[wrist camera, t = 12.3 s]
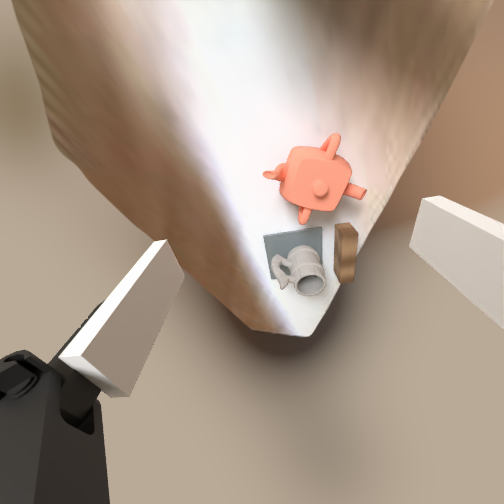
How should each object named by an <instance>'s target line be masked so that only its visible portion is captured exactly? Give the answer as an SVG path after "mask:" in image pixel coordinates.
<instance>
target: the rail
mask: <svg viewBox="0 0 504 504" xmlns="http://www.w3.org/2000/svg"><path fill="white" fill-rule="evenodd" d="M358 234H359V233H358V232H357V231H356V230H355V229H354V227H353V226H352V225H351V224H350V223H342V224H336V225H335V242H334V272H335V274H336V276H337V278H338V280H339V282H340V283H348V282H353V280H354V271H355V262H356V252H357V243H358Z"/></svg>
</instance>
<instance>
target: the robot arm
mask: <svg viewBox="0 0 504 504" xmlns="http://www.w3.org/2000/svg"><path fill="white" fill-rule="evenodd" d="M409 247H410V248H411V249H412V250H413V251H415V252H416V253H417V254H418V255H419V256H420V257H421V258H422V259H424V260H425V261H426V262H427V263H428V264H429V265H430V266H432V267H433V268H434V269H435V270H436V271H437V272H438V273H440V274H441V275H442V276H443V277H444V278H445V279H446V280H447V281H449V282H450V283H451V284H452V285H453V286H454V287H456V288H457V289H458V290H459V291H460V292H461V293H462V294H463V295H465V296H466V297H467V298H468V299H469V300H470V301H471V302H472V303H474V304H475V305H476V306H477V307H478V308H479V309H480V310H482V311H483V312H484V313H485V314H486V315H487V316H488V317H489V318H491V319H492V320H493V321H494V322H495V323H496V324H497V325H499V326H500V327H501V328H502V329H503V330H504V224H502V223H500V222H498V221H496V220H493V219H491V218H489V217H487V216H484V215H482V214H480V213H478V212H475V211H473V210H471V209H469V208H467V207H464V206H462V205H460V204H458V203H455V202H453V201H451V200H449V199H446V198H444V197H442V196H434V197H428V198H423V199H422V201H421V205H420V208H419V212H418V216H417V219H416V223H415V226H414V230H413V234H412V238H411V241H410V245H409ZM184 277H185V276H184V274H183V272H182V270H181V268H180V266H179V264H178V262H177V259H176V257H175V255H174V253H173V251H172V249H171V247H170V245H169V243H168V241H167V240H161V241H155V242H153V244H152V245H151V246H150V248H148V250H147V251H146V252H145V253H144V255H143V256H142V257H141V258H140V259H139V261H138V262H137V263H136V264H135V266H134V267H133V268H132V269H131V270H130V271H129V273H128V274H127V275H126V277H124V279H123V280H122V281H121V282H120V283H119V285H118V286H117V287H116V288H115V290H114V291H113V292H112V293H111V294H110V296H109V297H108V298H107V299H105V300H104V301H103V302H102V303H100V304H99V305H98V306H97V307H96V308H95V309H94V310H93V312H92V313H91V314H90V315H89V316H88V319H86V320H85V321H84V322H83V323H82V325H81V327H80V328H78V329H77V330H76V332H75V333H74V334H73V335H72V336H71V337H70V339H69V340H68V341H67V342H66V343H65V345H64V346H63V347H62V348H61V349H60V350H59V352H58V353H57V354H56V355H55V356H54V357H53V359H52V360H51V361H50V362H49V363H48V364H46V363H45V362H43V361H42V360H40V359H39V358H38V357H36V356H35V355H34V354H32V353H31V352H29V351H26V350H21V351H16V352H14V353H12V354H9V355H7V356H5V357H4V358H2V359H0V504H110V500H109V488H108V477H107V467H106V456H105V446H104V434H103V423H102V412H101V404H100V402H99V401H98V400H97V397H98V395H99V393H100V392H101V390H102V391H103V392H104V393H106V394H107V395H108V396H109V397H111V398H113V397H129V396H130V395H131V392H132V390H133V388H134V386H135V384H136V381H137V379H138V377H139V375H140V373H141V371H142V369H143V366H144V364H145V362H146V360H147V358H148V356H149V353H150V351H151V349H152V347H153V345H154V342H155V340H156V338H157V336H158V334H159V332H160V329H161V327H162V325H163V323H164V320H165V319H166V316H167V314H168V312H169V310H170V308H171V306H172V303H173V301H174V299H175V297H176V295H177V293H178V290H179V288H180V286H181V284H182V282H183V280H184Z"/></svg>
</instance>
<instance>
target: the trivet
mask: <svg viewBox="0 0 504 504" xmlns="http://www.w3.org/2000/svg"><path fill="white" fill-rule="evenodd" d="M263 237H264V242H265V248H266V253H267V258H268V264H269V269H270V275H271V279H277V278H276V277H275V275H274V273H273V270H272V269H271V264H272V263H271V261H272V258H273V257H274V256H275V255H276V254H278V255H280V256H281V257H283V258H285V259H287V257H288V254H289V252H290V251H291V250H292V249H293V248H295V247H297V246H301V245H307V246H311V247H312V248H314V250H316V251H317V252H318V254H319V257H320V264H321V265H322V227H316V228H310V229H303V230H297V231H290V232H284V233H277V234H271V235H264V236H263ZM279 267H280V269H281V270H282V271H283V272H284V273H285V274H286V275H288V276H290V274H291V272H290V270H289V268H288V267H287V266H284V265H282V264H281V265H280V266H279Z"/></svg>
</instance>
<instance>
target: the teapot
mask: <svg viewBox="0 0 504 504" xmlns="http://www.w3.org/2000/svg"><path fill="white" fill-rule="evenodd" d="M340 140H341V136H340V135H339V134H338V133H334V134H332V135H331V136H330V137H329V138H328V139H327V140H326V141H325V142H324V144H323V145H322V146H321V148H315V147H305V146H298V147H294V148H293V149H292V150H291V152H290V154H289V156H288V159H287V162H286V163H282V164H279V165H278V166H277V167H276V169H275V170H274V171H265V172H263V176H264V177H266V178H268V179H274V180H278V181H281V183H280V193H281V195H282V196H283V198H285V199H286V200H287V201H289V202H291V203H293V204H296V205H298V206H299V213H298V221H299V223H300V224H301V225H305V224H306V223H307V221H308V219H309V217H310V214H311V211H312V209H313V210H319V211H333V210H334V209H335V208H336V206H337V205H338V203H339V201H340V199H341V197H342V195H343V194H344V195H347V196H350V197H353V198H356V199H358V200H362V198H363V197H364V196H365V194H366V191H367V190H366V189H364V188H361V187H359V186H356V185H353V184H351V183H348V182H349V180H350V177H351V175H352V170H351V167H350V165H349V163H348V162H347V161H346V160H345V159H343V158H342V157H340V156H338V155H336V151H337V149H338V147H339V144H340Z"/></svg>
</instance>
